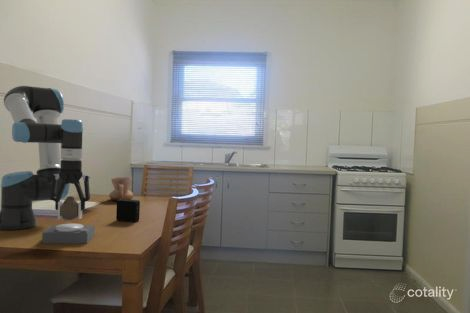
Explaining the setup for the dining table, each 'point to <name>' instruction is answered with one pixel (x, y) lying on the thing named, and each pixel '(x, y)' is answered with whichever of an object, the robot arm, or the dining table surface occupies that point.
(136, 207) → the electronic device
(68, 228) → the grey dome button box
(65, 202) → the vase
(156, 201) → the dining table surface
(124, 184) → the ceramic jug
